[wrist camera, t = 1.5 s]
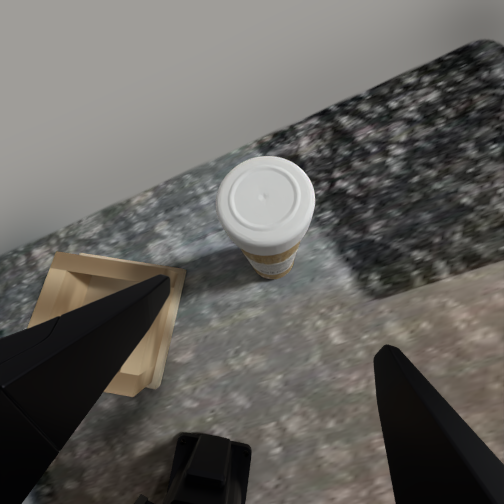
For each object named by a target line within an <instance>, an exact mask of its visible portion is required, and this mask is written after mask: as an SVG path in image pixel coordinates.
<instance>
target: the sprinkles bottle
mask: <svg viewBox="0 0 504 504" xmlns="http://www.w3.org/2000/svg"><path fill="white" fill-rule="evenodd" d="M314 206H315V194H314V189H313V186H312V184H311V181H310V179H309V178H308V176H307V175H306V174H305V172H304V171H303V170H302V169H301V168H300V167H298V166H297V165H296V164H294V163H292V162H290V161H288V160H286V159H283V158H279V157H273V156H263V157H256V158H252V159H249V160H247V161H244V162H242V163H241V164H239V165H237V166H236V167H235V168H233V169H232V170H231V171H230V172H229V173H228V174H227V175H226V177H225V178H224V179H223V181H222V183H221V184H220V187H219V190H218V192H217V197H216V212H217V216H218V219H219V221H220V223H221V225H222V227H223V229H224V230H225V232H226V233H227V235H228V236H229V237H230V239H231V240H232V241H233V242H234V243H235V244H236V245H237V246H238V247H240V249H241V251H242V252H243V254H244V255H245V256H246V258H247V259H248V261H249V262H250V263H251V265H252V266H253V268H254V269H255V271H256V272H257V273H258V274H259V275H260V276H262V277H264V278H267V279H278V278H281V277H283V276H285V275H286V274H287V273H288V272H289V271H290V270H291V268H292V266H293V264H294V258H295V255H296V253H297V250H298V247H299V244H300V240H301V239H302V238H303V236H304V235H305V233H306V231H307V229H308V227H309V224H310V222H311V218H312V215H313V212H314Z"/></svg>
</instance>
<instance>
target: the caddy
mask: <svg viewBox="0 0 504 504" xmlns="http://www.w3.org/2000/svg"><path fill="white" fill-rule="evenodd" d="M186 271H187V270H185V269H181V268H175V267H168V266H162V265H155V264H149V263H142V262H136V261H129V260H123V259H116V258H110V257H104V256H97V255H91V254H84V253H80V255H76V254H69V253H63V252H56V254H55V256H54V259H53V262H52V264H51V267H50V270H49V272H48V275H47V277H46V280H45V283H44V285H43V288H42V291H41V293H40V296H39V299H38V301H37V304H36V306H35V309H34V312H33V314H32V317H31V320H30V322H29V325H28V328H30V327H33V326H35V325H38V324H40V323H43V322H45V321H48V320H50V319H52V318H55V317H57V316H61V315H62V314H65V313H67V312H69V311H72V310H74V309H77V308H79V307H81V306H84V305H86V304H89V303H91V302H94V301H96V300H98V299H101V298H103V297H106V296H108V295H110V294H113V293H115V292H118V291H120V290H122V289H125V288H127V287H130V286H132V285H134V284H137V283H139V282H142V281H144V280H147V279H149V278H151V277H154V276H156V275H159V274H163V275H166V276H169V277H170V295H169V297H168V298H167V300H166V302H165V304H164V305H163V307H162V309H161V310H160V312H159V314H158V316H157V317H156V319H155V321H154V322H153V324H152V326H151V327H150V329H149V330H148V332H147V333H146V334H145V336H144V337H143V338H142V340H141V341H140V343H139V344H138V345H137V347H136V348H135V349H134V351H133V352H132V353H131V355H130V356H129V358H128V359H127V360H126V362H125V363H124V364H123V366H122V367H121V368H120V370H119V371H118V373H117V374H116V375H115V377H114V378H113V379H112V381H111V382H110V384H109V385H108V386H107V388H106V389H105V390H104V392H108V393H113V394H119V395H124V396H130V397H134V396H135V395H136V394H138V393H139V392H140V391H141V390H143V389H144V388H151V389H157V388H158V387H159V386H160V385H161V381H162V376H163V372H164V368H165V363H166V359H167V355H168V350H169V346H170V341H171V337H172V333H173V328H174V324H175V319H176V315H177V311H178V306H179V302H180V297H181V293H182V289H183V284H184V280H185V275H186ZM28 328H27V329H28Z"/></svg>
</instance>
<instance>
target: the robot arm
mask: <svg viewBox="0 0 504 504" xmlns="http://www.w3.org/2000/svg"><path fill="white" fill-rule="evenodd" d="M169 295H170V277H169V276H166V275H163V274H159V275H156V276H154V277H151V278H149V279H147V280H144V281H142V282H139V283H137V284H134V285H132V286H130V287H127V288H125V289H122V290H120V291H118V292H115V293H113V294H110V295H108V296H106V297H103V298H101V299H98V300H96V301H94V302H91V303H89V304H86V305H84V306H81V307H79V308H77V309H74V310H72V311H69V312H67V313H65V314H62V315H61V316H57V317H55V318H52V319H50V320H48V321H45V322H43V323H40V324H38V325H35V326H33V327H30V328H28V329H25V330H22V331H20V332H17V333H14V334H12V335H9V336H6V337H3V338H1V339H0V504H22V502H23V501H24V500H25V498H26V497H27V496H28V494H29V493H30V492H31V490H32V489H33V487H34V486H35V485H36V483H37V482H38V481H39V479H40V478H41V477H42V475H43V474H44V472H45V471H46V470H47V468H48V467H49V466H50V464H51V463H52V462H53V460H54V459H55V457H56V456H57V455H58V453H59V451H60V450H61V449H62V448H63V446H64V445H65V444H66V442H67V441H68V439H69V438H70V437H71V435H72V434H73V433H74V431H75V430H76V429H77V427H78V426H79V424H80V423H81V422H82V420H83V419H84V418H85V416H86V415H87V414H88V412H89V411H90V409H91V408H92V407H93V405H94V404H95V403H96V401H97V400H98V399H99V397H100V396H101V394H102V393H103V392H104V390H105V389H106V388H107V386H108V385H109V384H110V382H111V381H112V379H113V378H114V377H115V375H116V374H117V373H118V371H119V370H120V368H121V367H122V366H123V364H124V363H125V362H126V360H127V359H128V358H129V356H130V355H131V353H132V352H133V351H134V349H135V348H136V347H137V345H138V344H139V343H140V341H141V340H142V338H143V337H144V336H145V334H146V333H147V332H148V330H149V329H150V327H151V326H152V324H153V322H154V321H155V319H156V317H157V316H158V314H159V312H160V310H161V309H162V307H163V305H164V304H165V302H166V300H167V298H168V297H169ZM374 374H375V386H376V397H377V405H378V411H379V416H380V422H381V427H382V432H383V438H384V443H385V448H386V454H387V459H388V465H389V470H390V475H391V481H392V486H393V492H394V497H395V502H396V504H504V464H503V463H502V462H501V461H500V460H499V459H498V458H497V457H496V455H495V454H494V453H493V452H492V451H491V450H490V449H489V448H488V447H487V446H486V444H485V443H484V442H483V441H482V440H481V439H480V438H479V437H478V436H477V434H476V433H475V432H474V431H473V430H472V429H471V428H470V427H469V426H468V425H467V423H466V422H465V421H464V420H463V419H462V418H461V417H460V416H459V415H458V413H457V412H456V411H455V410H454V409H453V408H452V407H451V406H450V405H449V404H448V402H447V401H446V400H445V399H444V398H443V397H442V396H441V395H440V394H439V392H438V391H437V390H436V389H435V388H434V387H433V386H432V385H431V384H430V382H429V381H428V380H427V379H426V378H425V377H424V376H423V375H422V374H421V373H420V371H419V370H418V369H417V368H416V367H415V366H414V365H413V364H412V363H411V361H410V360H409V359H408V358H407V357H406V356H405V355H404V354H403V353H402V352H401V350H400V349H399V348H397V347H394V346H391V345H384V346H383V347H382V348H381V349H380V350H379V351H378V353H377V354H376V355H375V357H374ZM182 439H185V440H186V442H185V443H184V442H182ZM244 451H248V454H244V453H243V452H244ZM251 453H252V451H251V447H250V446H249V445H248V444H244V443H238V442H233V441H230V439H227V438H222V437H217V436H211V435H206V434H202V435H196V434H191V433H182V434H181V435H180V436H179V438H178V441H177V446H176V451H175V456H174V461H173V466H172V471H171V476H170V481H169V486H168V491H167V495H166V497H165V499H164V501H163V504H245V501H246V493H247V486H248V478H249V470H250V463H251ZM134 504H154V503H152V502H150V501H148V497H146V496H144V495H142V494H141V495H140V496H139V497H138V499H137V500H136V502H135V503H134Z"/></svg>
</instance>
